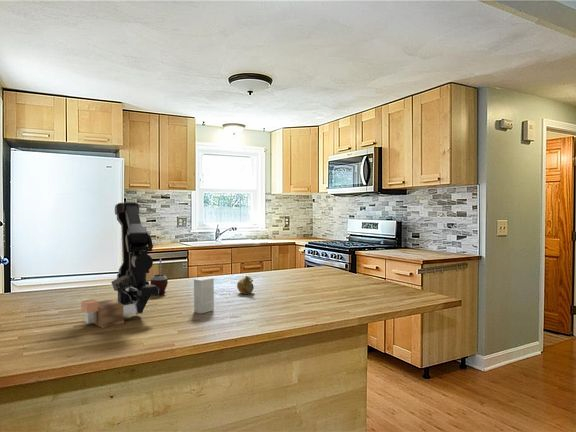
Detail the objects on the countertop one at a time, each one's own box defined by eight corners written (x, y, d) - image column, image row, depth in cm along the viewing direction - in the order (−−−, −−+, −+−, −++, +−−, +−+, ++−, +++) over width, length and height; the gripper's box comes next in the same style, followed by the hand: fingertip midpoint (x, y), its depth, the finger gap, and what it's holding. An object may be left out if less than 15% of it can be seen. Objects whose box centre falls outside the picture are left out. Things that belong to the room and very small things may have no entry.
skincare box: (206, 308, 151) (206, 276, 151) (214, 310, 148) (214, 278, 148) (193, 311, 146) (193, 278, 146) (200, 313, 144) (201, 280, 143)
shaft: (138, 311, 142) (138, 299, 142) (142, 313, 140) (142, 301, 140) (84, 322, 129) (84, 309, 129) (88, 324, 127) (88, 311, 127)
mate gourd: (156, 296, 169) (156, 261, 169) (146, 293, 174) (145, 259, 174) (171, 293, 175) (171, 259, 175) (160, 291, 180) (160, 257, 180)
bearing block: (110, 317, 138) (110, 299, 138) (124, 323, 132) (124, 304, 132) (89, 321, 133) (89, 302, 133) (102, 328, 127) (102, 308, 126)
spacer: (93, 308, 131) (92, 299, 131) (98, 310, 128) (98, 301, 128) (81, 310, 129) (81, 301, 129) (86, 313, 126) (86, 303, 126)
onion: (255, 291, 181) (256, 273, 180) (252, 295, 173) (252, 277, 172) (239, 291, 181) (239, 273, 181) (235, 295, 173) (235, 276, 173)
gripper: (103, 266, 140) (103, 311, 141) (127, 273, 128) (127, 322, 128) (133, 263, 149) (133, 305, 149) (159, 269, 136) (159, 315, 136)
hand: (137, 311), depth 140 cm, fingers closed on shaft, 3 cm apart
